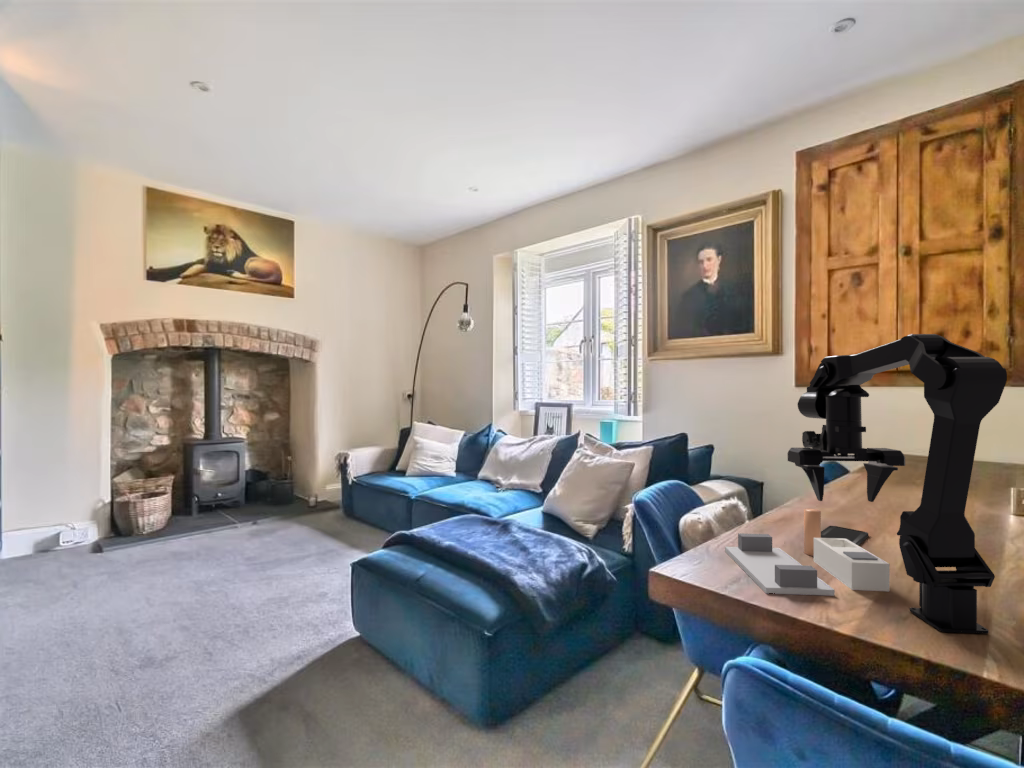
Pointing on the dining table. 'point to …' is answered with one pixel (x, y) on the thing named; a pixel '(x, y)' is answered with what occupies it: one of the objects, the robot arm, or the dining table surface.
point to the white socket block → (852, 564)
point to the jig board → (767, 571)
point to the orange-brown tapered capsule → (811, 529)
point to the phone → (844, 534)
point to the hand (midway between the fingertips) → (845, 501)
